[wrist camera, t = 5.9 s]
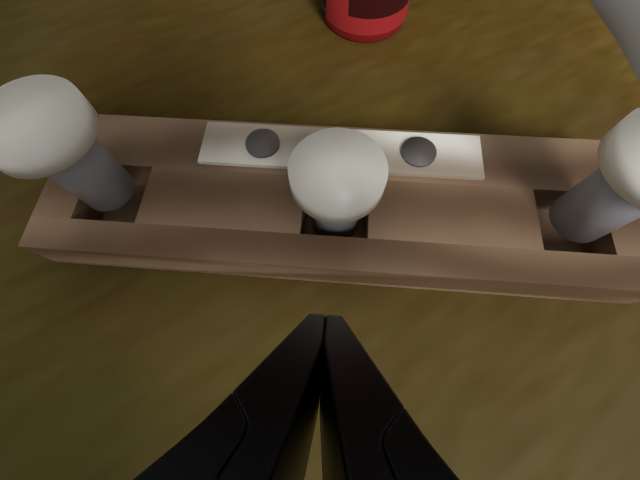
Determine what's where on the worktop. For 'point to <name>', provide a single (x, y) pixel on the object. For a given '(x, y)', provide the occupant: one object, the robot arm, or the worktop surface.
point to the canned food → (365, 18)
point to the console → (372, 230)
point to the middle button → (337, 178)
